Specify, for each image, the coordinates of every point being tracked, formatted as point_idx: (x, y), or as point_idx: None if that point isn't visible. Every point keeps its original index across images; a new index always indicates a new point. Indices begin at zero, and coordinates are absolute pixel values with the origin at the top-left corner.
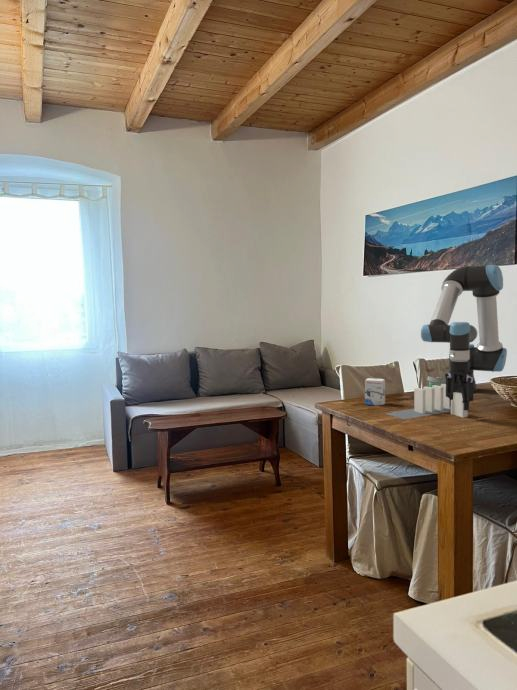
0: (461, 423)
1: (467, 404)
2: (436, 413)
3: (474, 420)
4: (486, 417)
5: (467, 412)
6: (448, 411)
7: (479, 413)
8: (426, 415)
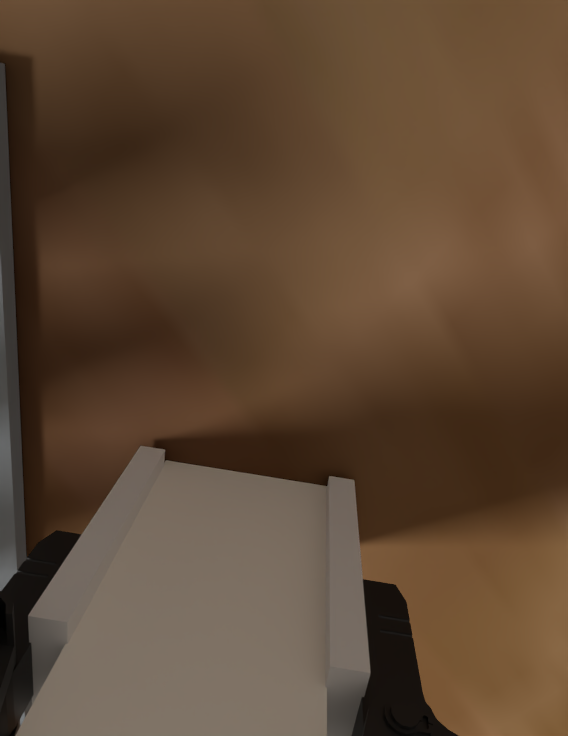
0: (438, 691)
1: (401, 687)
2: None
3: (480, 511)
4: (529, 258)
5: (356, 526)
6: (3, 428)
7: (308, 98)
8: (24, 718)
